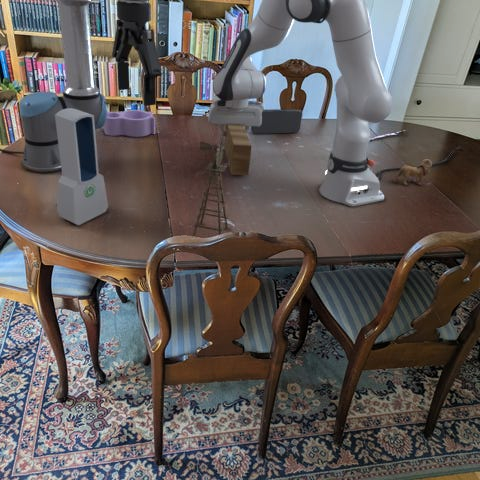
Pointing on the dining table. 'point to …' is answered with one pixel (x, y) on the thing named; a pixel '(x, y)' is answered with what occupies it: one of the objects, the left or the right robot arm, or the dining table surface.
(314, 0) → the right robot arm
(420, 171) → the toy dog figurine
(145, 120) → the purple double bowl
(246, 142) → the box
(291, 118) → the handheld gaming console
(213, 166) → the miniature windmill
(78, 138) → the electronic device
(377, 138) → the sword
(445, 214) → the dining table surface
